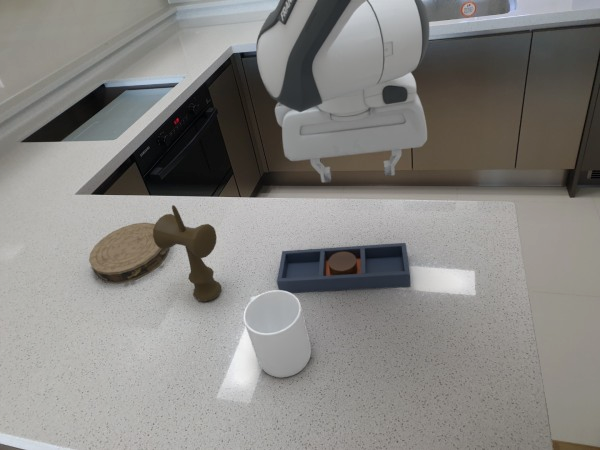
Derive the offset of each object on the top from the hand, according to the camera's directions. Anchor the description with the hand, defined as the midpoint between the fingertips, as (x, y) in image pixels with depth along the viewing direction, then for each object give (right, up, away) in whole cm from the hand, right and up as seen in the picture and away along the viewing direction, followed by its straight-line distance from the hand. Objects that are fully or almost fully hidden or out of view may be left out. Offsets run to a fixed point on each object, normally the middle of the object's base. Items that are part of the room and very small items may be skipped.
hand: (357, 177), depth 69 cm
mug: (-12, -27, +3) cm, 30 cm away
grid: (-1, -16, +14) cm, 21 cm away
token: (-1, -15, +13) cm, 21 cm away
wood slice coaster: (-44, -14, +28) cm, 54 cm away
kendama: (-26, -20, +16) cm, 36 cm away
